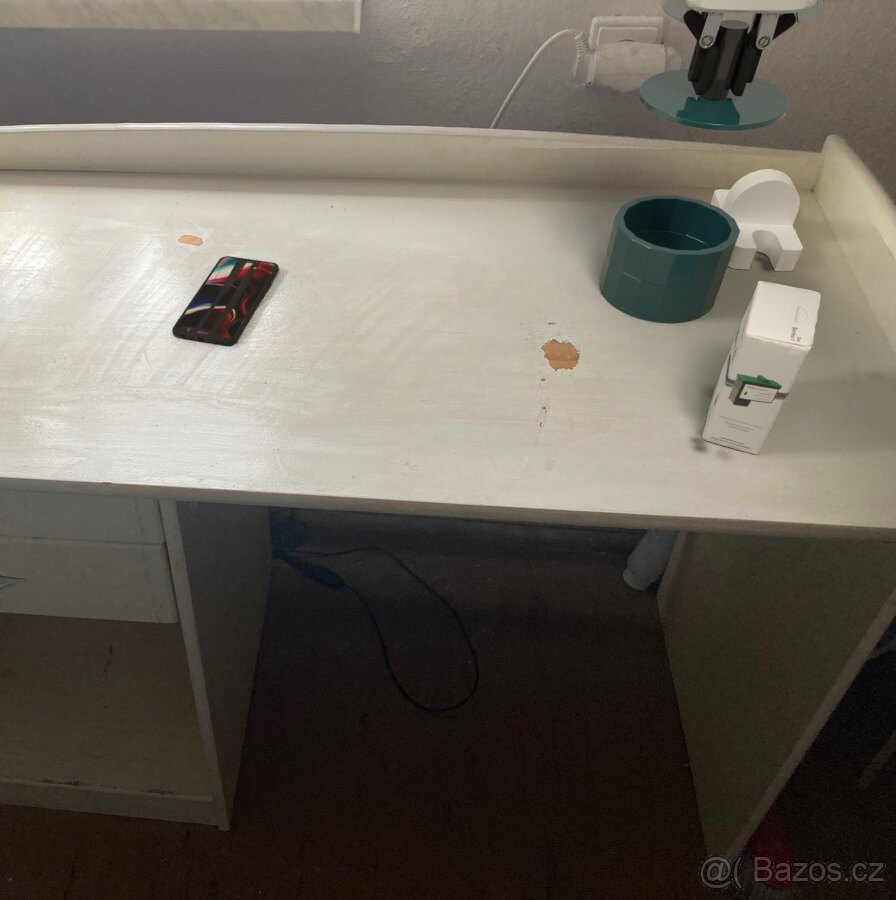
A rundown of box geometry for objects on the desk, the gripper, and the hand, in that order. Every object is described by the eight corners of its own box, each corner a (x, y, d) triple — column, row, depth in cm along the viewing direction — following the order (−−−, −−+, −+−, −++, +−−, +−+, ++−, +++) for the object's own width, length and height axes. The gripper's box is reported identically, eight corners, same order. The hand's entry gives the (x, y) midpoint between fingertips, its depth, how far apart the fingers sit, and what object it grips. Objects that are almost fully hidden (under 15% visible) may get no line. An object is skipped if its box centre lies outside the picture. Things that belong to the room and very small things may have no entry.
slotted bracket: (795, 271, 93) (823, 206, 88) (728, 268, 94) (751, 203, 89) (768, 211, 102) (792, 148, 97) (706, 209, 103) (726, 146, 98)
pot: (724, 276, 93) (748, 209, 87) (702, 334, 86) (727, 265, 80) (615, 251, 97) (632, 186, 92) (586, 305, 90) (602, 237, 85)
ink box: (714, 382, 81) (757, 274, 72) (772, 397, 79) (822, 288, 71) (699, 440, 75) (744, 331, 67) (761, 457, 74) (814, 347, 65)
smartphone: (169, 331, 89) (221, 254, 99) (169, 337, 89) (222, 259, 99) (234, 342, 87) (281, 263, 97) (235, 348, 87) (281, 268, 97)
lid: (797, 86, 79) (824, 11, 75) (775, 141, 72) (805, 61, 67) (656, 65, 84) (674, -7, 80) (622, 114, 76) (640, 38, 72)
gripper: (685, -148, 63) (626, 104, 75) (927, -150, 60) (824, 110, 73) (670, -168, 68) (617, 71, 81) (892, -171, 65) (802, 75, 78)
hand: (716, 88), depth 77 cm, fingers closed on lid, 2 cm apart
